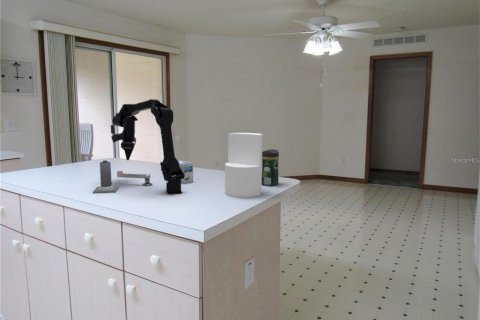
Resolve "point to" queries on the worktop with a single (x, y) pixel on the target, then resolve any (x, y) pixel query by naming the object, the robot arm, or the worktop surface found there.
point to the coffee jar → (270, 167)
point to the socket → (106, 190)
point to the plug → (105, 175)
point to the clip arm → (132, 175)
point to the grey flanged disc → (147, 182)
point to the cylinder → (244, 165)
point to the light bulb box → (186, 171)
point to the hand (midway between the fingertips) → (128, 158)
